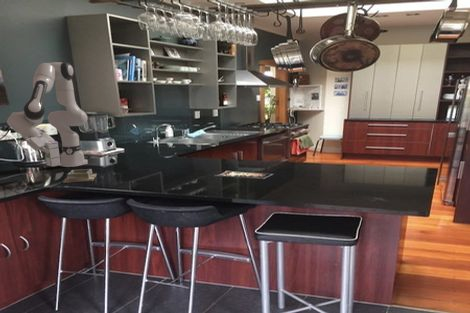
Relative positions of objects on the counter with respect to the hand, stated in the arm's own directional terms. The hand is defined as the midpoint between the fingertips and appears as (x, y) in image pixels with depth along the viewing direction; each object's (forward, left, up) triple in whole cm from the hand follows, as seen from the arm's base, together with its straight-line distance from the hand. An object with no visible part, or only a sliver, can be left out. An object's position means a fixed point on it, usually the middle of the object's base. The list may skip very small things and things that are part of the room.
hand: (52, 151), depth 194 cm
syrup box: (0, -1, -9) cm, 9 cm away
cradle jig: (+2, +14, -17) cm, 22 cm away
